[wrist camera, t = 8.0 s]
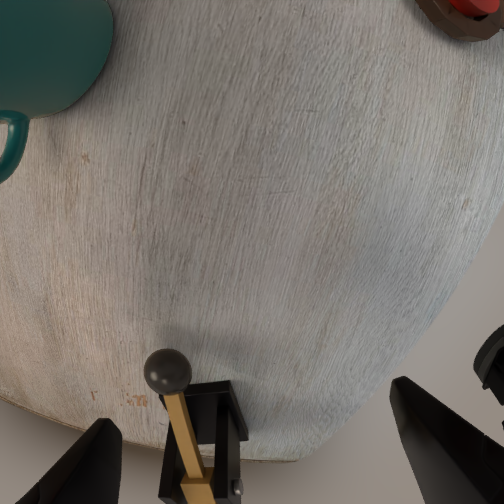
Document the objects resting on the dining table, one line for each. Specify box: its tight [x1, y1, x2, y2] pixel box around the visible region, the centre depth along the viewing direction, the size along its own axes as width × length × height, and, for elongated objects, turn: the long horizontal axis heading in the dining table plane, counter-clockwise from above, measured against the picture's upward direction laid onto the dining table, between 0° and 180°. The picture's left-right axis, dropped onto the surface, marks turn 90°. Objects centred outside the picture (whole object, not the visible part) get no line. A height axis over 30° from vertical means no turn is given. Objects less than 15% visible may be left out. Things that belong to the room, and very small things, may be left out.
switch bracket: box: [158, 381, 249, 504], centre depth 21 cm, size 8×6×10 cm
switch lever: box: [144, 348, 218, 504], centre depth 19 cm, size 13×3×3 cm, turn 10°
